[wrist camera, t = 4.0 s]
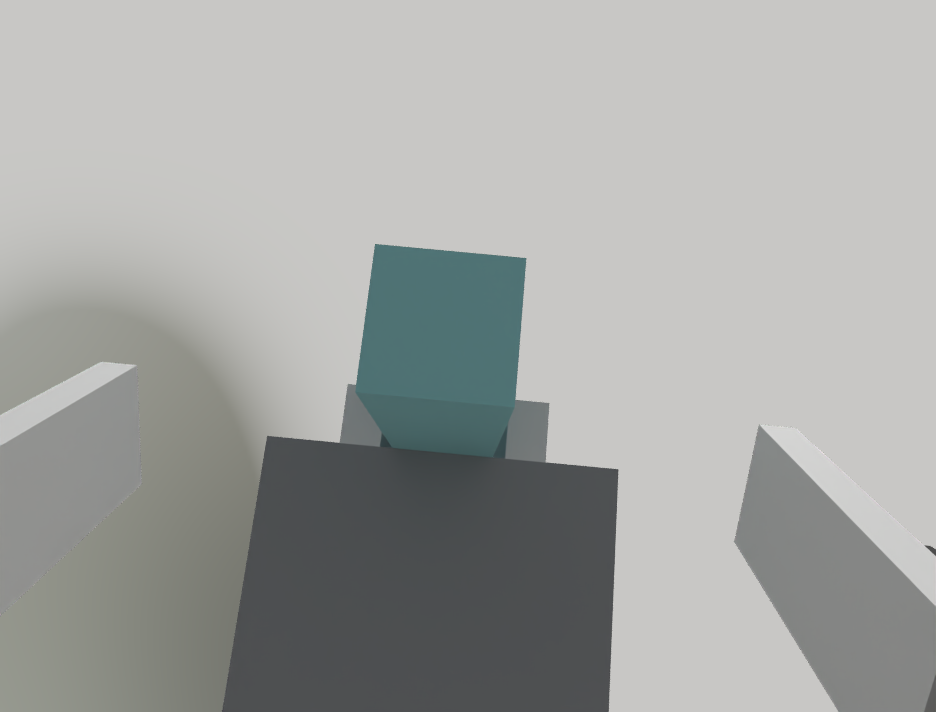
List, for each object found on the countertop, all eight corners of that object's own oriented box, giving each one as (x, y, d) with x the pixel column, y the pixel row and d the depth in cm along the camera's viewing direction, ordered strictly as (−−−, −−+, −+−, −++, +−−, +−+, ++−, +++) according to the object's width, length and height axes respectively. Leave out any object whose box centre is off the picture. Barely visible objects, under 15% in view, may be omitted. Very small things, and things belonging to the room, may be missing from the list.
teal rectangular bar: (514, 407, 18) (526, 258, 19) (355, 392, 18) (375, 244, 19) (480, 486, 43) (485, 420, 44) (413, 479, 43) (420, 413, 44)
